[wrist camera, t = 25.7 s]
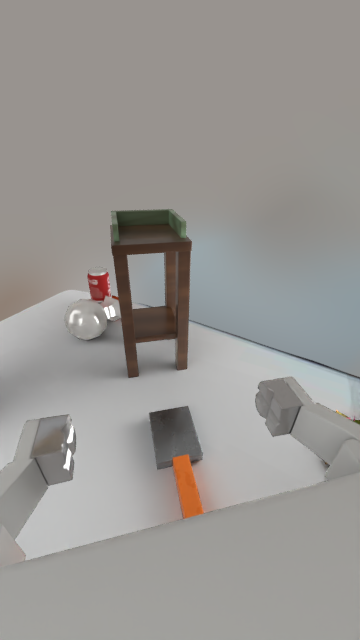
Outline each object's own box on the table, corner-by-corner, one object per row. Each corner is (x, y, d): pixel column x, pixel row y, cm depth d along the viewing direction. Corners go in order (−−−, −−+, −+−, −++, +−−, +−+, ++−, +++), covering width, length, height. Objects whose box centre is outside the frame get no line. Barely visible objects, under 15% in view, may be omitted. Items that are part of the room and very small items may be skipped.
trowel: (149, 419, 44) (148, 410, 43) (187, 412, 45) (188, 403, 44) (172, 566, 28) (172, 559, 27) (229, 549, 30) (232, 541, 28)
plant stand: (187, 369, 54) (192, 224, 39) (128, 378, 52) (109, 227, 37) (174, 333, 65) (174, 208, 50) (124, 339, 63) (108, 210, 47)
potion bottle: (68, 350, 61) (115, 327, 73) (90, 340, 55) (137, 316, 67) (48, 314, 60) (99, 296, 72) (69, 300, 54) (121, 283, 66)
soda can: (102, 304, 77) (96, 264, 70) (116, 309, 75) (112, 268, 68) (89, 312, 73) (82, 271, 66) (104, 317, 71) (98, 275, 64)
